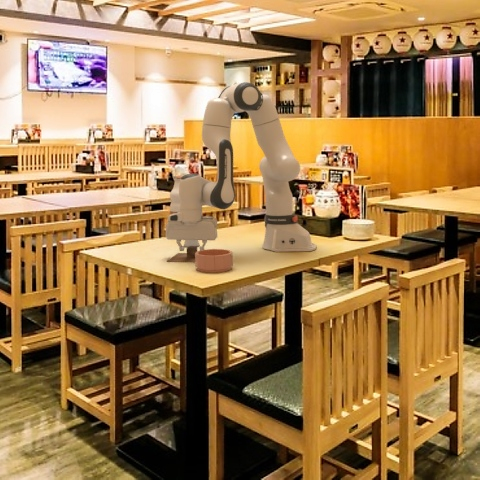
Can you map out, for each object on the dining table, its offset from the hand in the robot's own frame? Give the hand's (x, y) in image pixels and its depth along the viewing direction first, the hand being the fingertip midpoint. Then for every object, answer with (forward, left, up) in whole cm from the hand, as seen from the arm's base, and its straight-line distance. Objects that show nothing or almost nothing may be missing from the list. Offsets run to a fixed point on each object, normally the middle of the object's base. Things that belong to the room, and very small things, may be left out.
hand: (191, 251), depth 255 cm
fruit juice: (+19, -50, -3) cm, 53 cm away
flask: (+7, -25, -3) cm, 26 cm away
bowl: (-13, +18, -3) cm, 22 cm away
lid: (0, 0, -3) cm, 3 cm away
